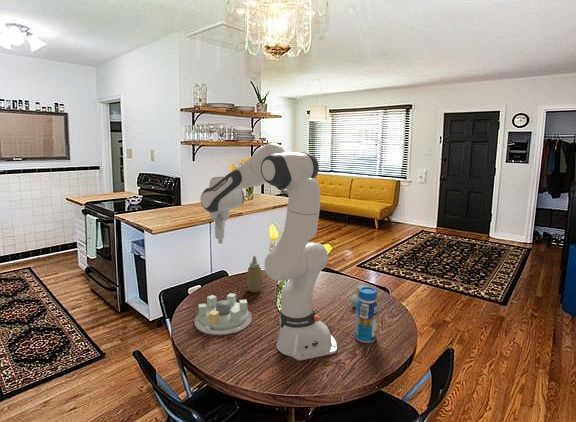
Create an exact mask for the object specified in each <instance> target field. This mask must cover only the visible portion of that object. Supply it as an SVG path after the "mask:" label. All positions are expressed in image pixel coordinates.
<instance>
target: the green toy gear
mask: <svg viewBox="0 0 576 422" xmlns="http://www.w3.org/2000/svg"><path fill="white" fill-rule="evenodd" d="M217 298H218V297H217V296H216V295H213V294H211V295H208V296H207V297H206V303H198V314H197V315H198V320H199V323H200V324H201V325H202V326H204V327H206V326H207V325H208V326H212V329H216V330H223V329H230V328H234V327H237V326H239V325H241V324H243V323H244V322H245V321H246V320H247V318H248V311H249V310H248V301H247V299H239V302H237V294H236V293H232V292H231V293H230V292H229V294H227V295H226V299H224V300H219V301H217V300H218V299H217Z"/></svg>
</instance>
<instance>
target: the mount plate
mask: <svg viewBox="0 0 576 422" xmlns="http://www.w3.org/2000/svg"><path fill="white" fill-rule="evenodd" d="M252 321H253V316H252V313H251V312H250V310H248V318H247V320H246V321H245V322H244V323H243V324H241V325H239V326H237V327H234V328H230V329H223V330H216V329H212V326H208V325H207V326H206V327H204V326H202V325H201V324H200V323H199V320H198V314H196V315H195V318H194V322H193V323H194V327H195V329H196V330H198V331H199V332H200V333H203V334H206V335H211V336H227V335H233V334H236V333H239V332H242V331H243V330H246V329H247V328H248V327H249V326H250V325H251V324H252Z"/></svg>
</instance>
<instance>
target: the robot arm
mask: <svg viewBox="0 0 576 422" xmlns="http://www.w3.org/2000/svg"><path fill="white" fill-rule="evenodd" d="M319 166H320V165H319V161H318V160H317V158H316V156H315V155H313V154H312V153H308V152H303V151H301V152H294V151H293V152H292V151H285V150H284V147H282V146H281V145H280V144H278V143H276V142H270V143H267V144H265V145H263V146H262V147H261V148H259V149H258V150H256V151H255V152H254V153H253V154H252V156H251V157H249V158H248V159H247V160H246V161H245V162H243V163H242V164H241V165H239V166H238V167H237V168H235V169H233V170H232V171H230V172H229V173H228V174H226V175H225V176H215V177H212V178H211V179H210V180H209V184H208V185H209V186H208V187H207V188H205V189H204V190H203V192H202V193H201V196H200V204H201V207H202V208H203V209H204V210H206V211H207V212H209V218H210V219H212V222H214V237H215V239H216V240H217V243H218V244H223V240H224V238H225V226H226V222H227V221H228V218H229V217H231V213H230V211H231V210H233V209H238V208H240V207H241V206H243V204H244V202H245V194H244V191H243V189H246V188H253V187H255V188H256V187H259V186H262V185H264V184H266V183H267V184H268V185H271V186H273V187H275V188H276V189H277V190H280V191H283V190H286V191H287V194H288V201H287V206H286V207H287V208H286V216H285V221H284V222H285V223H284V228H283V231H282V234H281V236H280V238H279V240H278V242H277V243H276V245H275V246H274V248H273V249H272V250H271V251H270V252H269V253H268V254H267V255H266V256H265V258H264V263H263V264H264V266H263V267H264V271H265V273H266V275H267V276H268V277H269V278H270V279H271V280H272V281H273V282H275V281H277V282H278V281H280V282H281V281H282V282H283V281H288V282H286V284H285V285H284V286H283V287H282V289H281V292H280V293H281V294H280V295H281V296H280V297H281V299H280V304H281V305H280V307H281V308H280V310H279V326H280V327H279V333H278V337H277V338H278V339H277V342H276V349H277V350H278V351H279V352H280V353H282V354H283V355H285V356H288V357H291V358H293V359H295V361H299V362H300V361H304V360H310V359H315V358H320V357H324V356H329V355H334V354H336V353H337V351H338V345H337V344H338V343H337V341H336V339H335V338H334V336H333V335H331V333H330V330H329V327H328V326H327V325H326V323H324V322H323V321H321V318H320V315H319V314H318V313H317V311H316V310H315V309H314V308H313V307H312V302H313V301H312V300H313V291H314V288H315V284H316V281H317V279H318V277H319V275H320V273H321V271H322V270H323V269H324V267H326V265H327V263H328V260H329V257H328V256H329V254H328V250H327V249H326V247H325V246H324V245H323V244H321V243H320V242H310V241H311V240H312V239H313V238H314V237H315V236H316V234H317V231H318V226H319V218H320V217H319V216H320V212H321V211H320V209H321V186H320V183H319V182H318V180H316V179H315V178H316V177H317V176H318V174H319V169H320V167H319Z"/></svg>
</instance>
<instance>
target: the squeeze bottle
mask: <svg viewBox="0 0 576 422" xmlns="http://www.w3.org/2000/svg"><path fill="white" fill-rule="evenodd" d="M246 286H247V289H248V291H249V292H250V293H258V292H260V291H261V289H262V286H263V275H262V268H261V266H260V263H259V261H258V260H257V257H256V255H253V256H252V261H251V262H250V263H249V267H248V268H247V277H246Z"/></svg>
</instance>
